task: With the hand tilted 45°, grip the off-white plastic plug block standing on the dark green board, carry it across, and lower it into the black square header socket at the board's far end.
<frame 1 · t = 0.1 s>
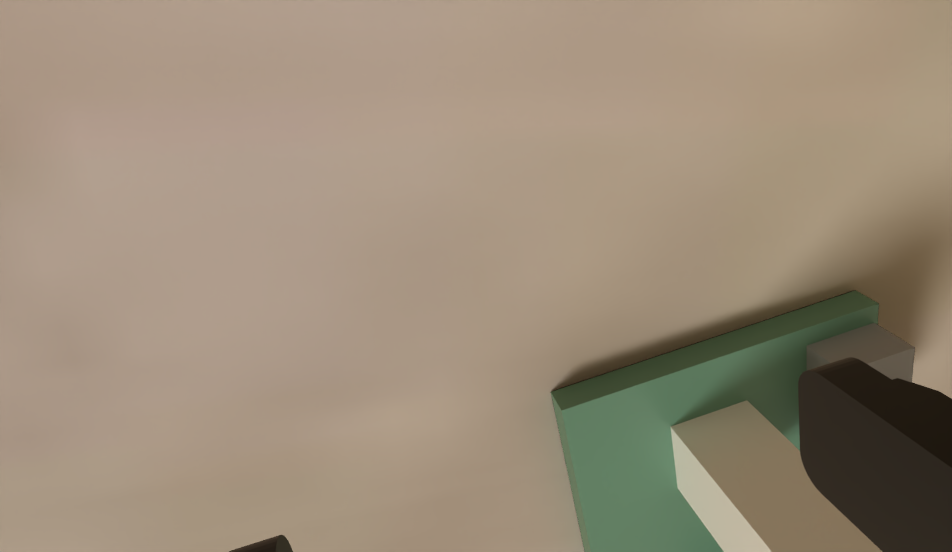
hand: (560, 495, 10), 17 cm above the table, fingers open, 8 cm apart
board: (720, 504, 37), on the table
plug: (711, 445, 33), point 1 cm above the table, touching board
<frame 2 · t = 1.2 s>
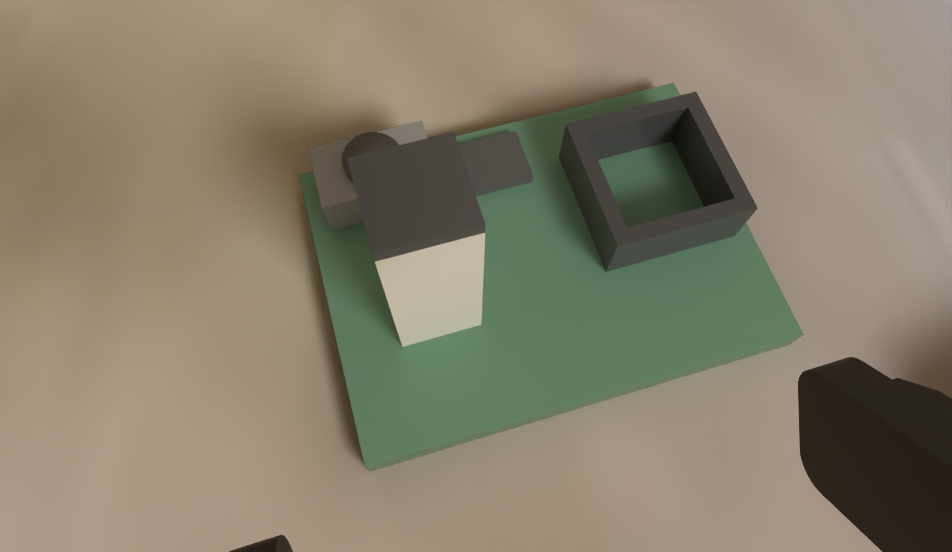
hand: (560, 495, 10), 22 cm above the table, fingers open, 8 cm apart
board: (536, 262, 36), on the table
plug: (431, 299, 33), point 1 cm above the table, touching board
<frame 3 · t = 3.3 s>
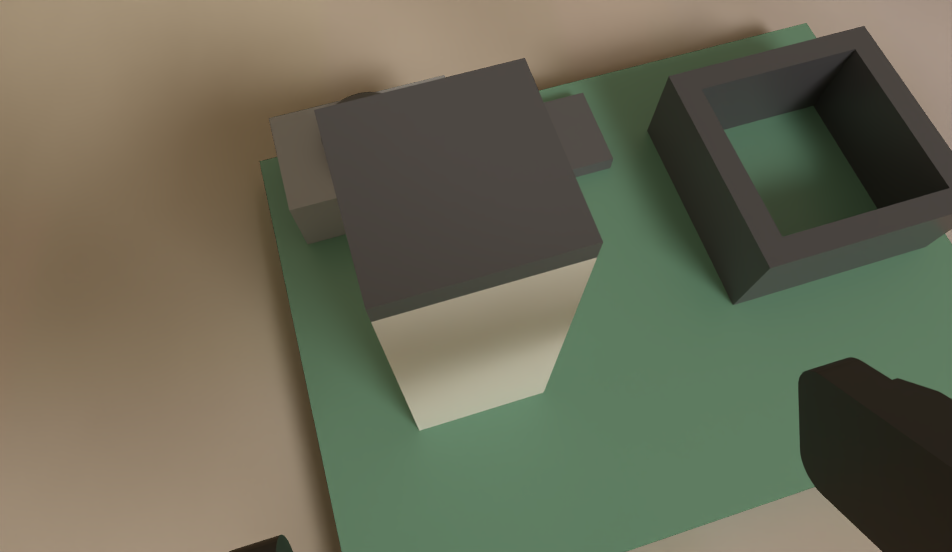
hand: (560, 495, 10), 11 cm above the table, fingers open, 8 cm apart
board: (617, 289, 24), on the table
plug: (463, 351, 21), point 1 cm above the table, touching board
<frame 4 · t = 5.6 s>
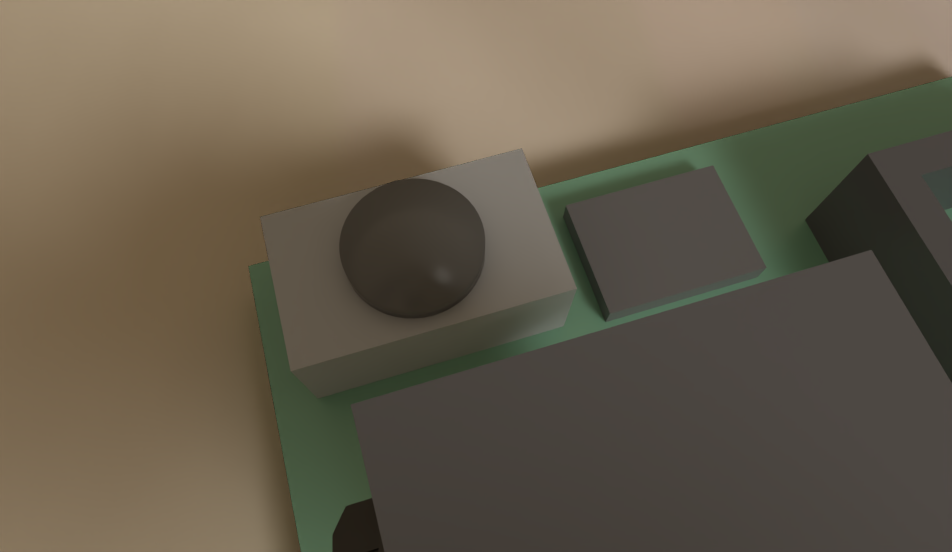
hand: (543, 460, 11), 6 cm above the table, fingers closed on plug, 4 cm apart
board: (770, 457, 16), on the table
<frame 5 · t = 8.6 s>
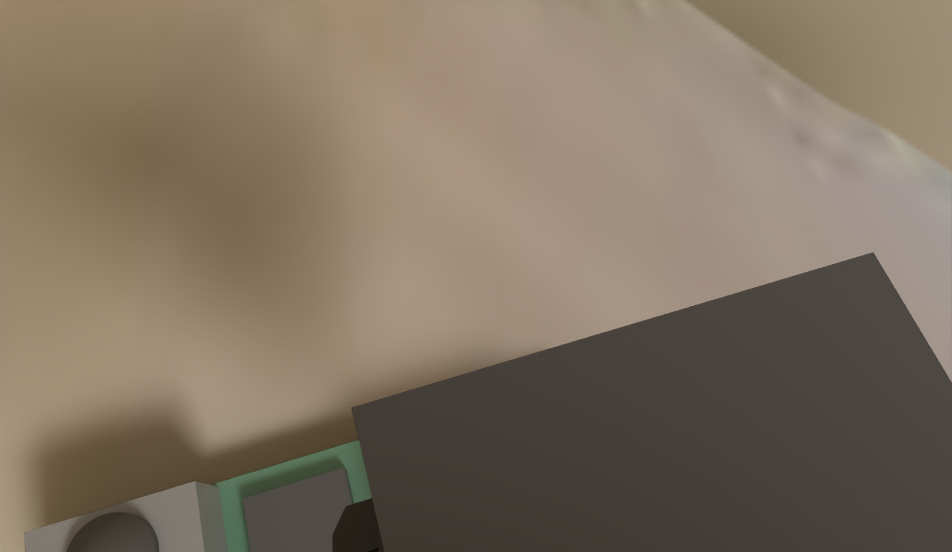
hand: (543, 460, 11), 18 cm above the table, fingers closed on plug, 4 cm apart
when the fingers open (6 cm above the table, at t = 11.5 s): plug stays where it is, resting on board.
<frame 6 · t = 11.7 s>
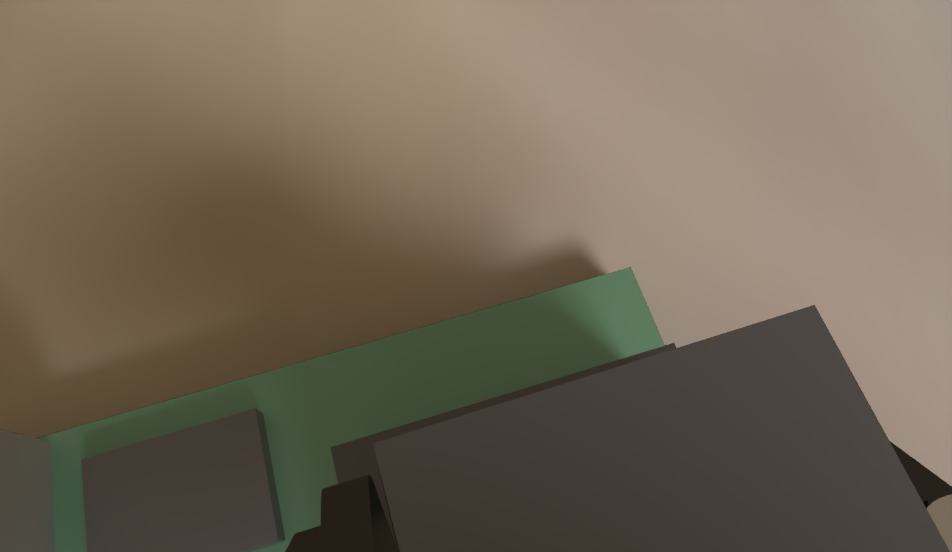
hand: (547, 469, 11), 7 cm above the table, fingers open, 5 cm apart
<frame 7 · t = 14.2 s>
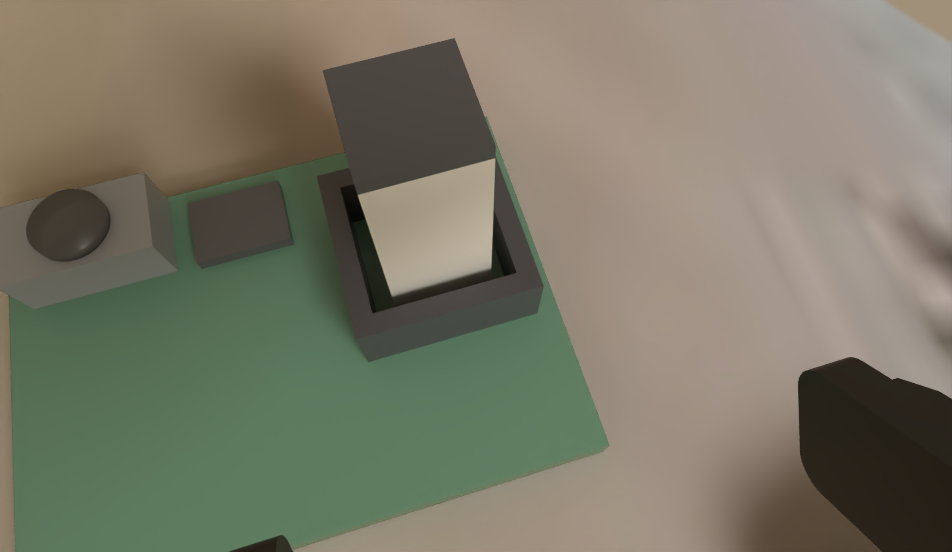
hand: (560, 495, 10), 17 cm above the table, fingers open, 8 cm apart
board: (297, 345, 29), on the table
plug: (432, 261, 28), point 1 cm above the table, touching board
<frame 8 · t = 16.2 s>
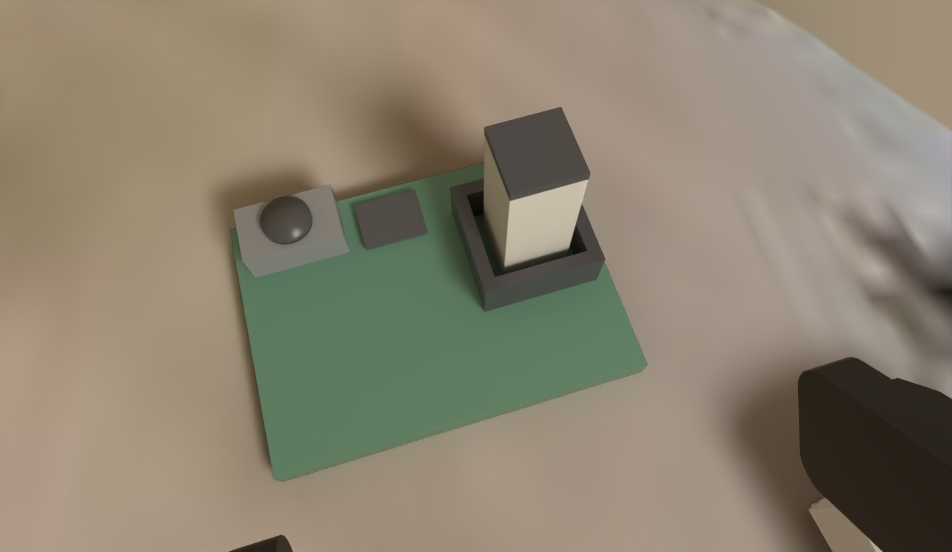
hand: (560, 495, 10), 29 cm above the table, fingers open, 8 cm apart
board: (431, 302, 42), on the table
plug: (523, 245, 42), point 1 cm above the table, touching board
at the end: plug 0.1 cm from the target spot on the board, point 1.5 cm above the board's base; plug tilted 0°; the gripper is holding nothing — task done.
